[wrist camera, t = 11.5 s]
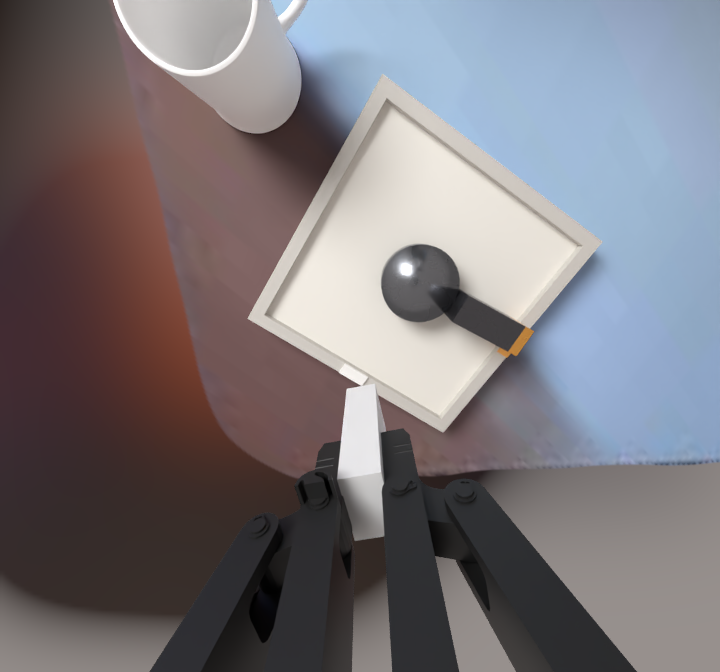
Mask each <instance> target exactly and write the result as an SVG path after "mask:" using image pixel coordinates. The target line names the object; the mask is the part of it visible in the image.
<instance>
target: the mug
mask: <svg viewBox="0 0 720 672" xmlns="http://www.w3.org/2000/svg"><path fill="white" fill-rule="evenodd" d="M113 1H114V5H115V8H116V11H117V13H118V16H119V18H120V20H121V22H122V24H123V26H124V28H125V30H126V32H127V33H128V35H129V36H130V38H131V39H132V41H133V42H134V43H135V44H136V46H137V47H138V48H139V49H140V50H141V51H142V52H143V53H144V54H145V55H146V56H147V57H148V58H149V59H150V60H151V61H153V62H154V63H155V64H156V65H158V66H159V67H160V68H162V69H163V70H164V71H166V72H167V73H168V74H169V75H171V76H172V77H173V78H175V79H176V80H177V81H179V82H180V83H181V84H182V85H184V86H185V87H186V88H188V89H189V90H190V91H192V92H193V93H194V94H196V95H197V96H198V97H199V98H201V99H202V100H203V101H205V102H206V103H207V104H209V105H210V106H211V107H212V108H214V109H215V110H216V112H217V113H218V114H219V115H220V116H221V117H222V118H223V119H224V120H225V121H226V122H227V123H229V124H230V125H231V126H233V127H235V128H237V129H239V130H241V131H244V132H248V133H256V134H258V133H266V132H269V131H272V130H274V129H276V128H278V127H280V126H281V125H282V124H284V123H285V122H286V121H287V120H288V118H289V117H290V116H291V115H292V113H293V111H294V110H295V108H296V105H297V103H298V100H299V96H300V92H301V69H300V64H299V60H298V57H297V55H296V52H295V50H294V48H293V46H292V44H291V42H290V41H289V39H288V38H287V37H286V33H287V31H288V30H289V29H290V27H291V26H292V25H293V24H294V22H295V21H296V20H297V18H298V17H299V15H300V14H301V12H302V11H303V9H304V7H305V5H306V3H307V1H308V0H293V1H292V3H291V4H290V6H289V7H288V8H287V10H286V11H285V12H284V13H283V14H281V15H280V16H279V17H277V15H276V12H275V10H274V7H273V5H272V3H271V0H113Z"/></svg>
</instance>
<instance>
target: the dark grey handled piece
mask: <svg viewBox="0 0 720 672" xmlns="http://www.w3.org/2000/svg"><path fill="white" fill-rule="evenodd" d="M459 284H460V278H459V272H458V269H457V267H456V264H455V263H454V261H453V260H452V258H451V257H450V256H449V255H448V254H447V253H446V252H444V251H443V250H441V249H439V248H437V247H434V246H431V245H428V244H411V245H407V246H405V247H402V248H401V249H399V250H397V251H396V252H395V253H394V254H392V255H391V257H390V258H389V259H388V260H387V262H386V263H385V265H384V268H383V270H382V274H381V290H382V294H383V297H384V300H385V302H386V304H387V306H388V307H389V309H390V310H391V311H392V312H393V313H394V314H396V315H397V316H398V317H400V318H402V319H404V320H407V321H411V322H426V321H430V320H433V319H435V318H437V317H439V316H441V315H442V314H445V315H446V316H447V317H448V318H449V319H450V320H451V321H452V322H453V323H455V324H457V325H459V326H461V327H462V328H464V329H466V330H468V331H470V332H472V333H474V334H476V335H477V336H479V337H481V338H483V339H485V340H487V341H489V342H491V343H492V344H494V345H496V346H498V347H500V348H502V349H504V350H506V351H507V352H509V353H511V354H513V355H515V356H517V355H518V353H519V352H520V351H521V349H522V348H523V346H524V345H525V344H526V342H527V341H528V340H529V338H530V337H531V335H532V334H533V333H534V331H533V330H531V329H530V328H528V327H526V326H525V325H523V324H522V323H520V322H519V321H517V320H515V319H514V318H512V317H510V316H508V315H507V314H505V313H503V312H501V311H499V310H498V309H496V308H494V307H492V306H490V305H488V304H487V303H485V302H483V301H481V300H479V299H478V298H476V297H474V296H472V295H470V294H468V293H467V292H465V291H463V290H461V289H459Z"/></svg>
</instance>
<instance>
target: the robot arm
mask: <svg viewBox="0 0 720 672" xmlns="http://www.w3.org/2000/svg"><path fill="white" fill-rule="evenodd" d="M315 468H316V469H315V470H313V471H310V472H307V473H306V474H304V475H302V476H301V477H300V478H299V479H298V480H297V482H296V484H295V486H294V487H295V490H296V492H297V495H298V498H299V501H300V504H301V507H300V509H299V510H298V511H297V512H295V513H293V514H291V515H289V516H287V517H284V518H282V519H278V517H277V516H276V515H275V514H272V513H262V514H259V515H257V516H255V517H253V518H252V519H251V520H249V521H248V522H247V523H246V524H245V525H244V527H243V528H242V529H241V531H240V532H239V534H238V535H237V537H236V538H235V540H234V541H233V543H232V545H231V546H230V548H229V549H228V551H227V552H226V554H225V555H224V557H223V559H222V560H221V562H220V563H219V565H218V567H217V568H216V570H215V571H214V573H213V574H212V576H211V577H210V579H209V580H208V582H207V583H206V585H205V586H204V588H203V590H202V591H201V593H200V594H199V596H198V597H197V599H196V600H195V602H194V604H193V605H192V607H191V608H190V610H189V612H188V613H187V615H186V616H185V618H184V619H183V621H182V622H181V624H180V625H179V627H178V628H177V630H176V632H175V633H174V635H173V636H172V638H171V639H170V641H169V642H168V644H167V645H166V647H165V649H164V651H163V652H162V653H161V655H160V656H159V658H158V659H157V661H156V663H155V664H154V666H153V667H152V669H151V670H150V672H352V640H353V603H354V567H355V554H354V548H353V545H352V532H353V535H354V539H355V541H357V540H363V539H369V538H376V537H382V536H384V539H385V556H386V571H387V572H386V573H387V588H388V605H389V622H390V639H391V654H392V655H391V656H392V672H459V669H458V664H457V660H456V655H455V650H454V645H453V640H452V635H451V631H450V626H449V621H448V617H447V612H446V607H445V602H444V597H443V592H442V587H441V583H440V578H439V573H438V568H437V563H436V559H435V556H439V557H444V558H450V559H455V560H456V562H457V564H458V566H459V568H460V570H461V572H462V574H463V575H464V577H465V579H466V581H467V583H468V585H469V586H470V588H471V590H472V592H473V594H474V595H475V597H476V599H477V601H478V603H479V605H480V606H481V608H482V610H483V612H484V613H485V616H486V617H487V619H488V621H489V623H490V625H491V627H492V628H493V630H494V632H495V634H496V636H497V638H498V639H499V641H500V643H501V645H502V647H503V649H504V650H505V652H506V654H507V656H508V658H509V660H510V661H511V663H512V665H513V667H514V668H515V670H516V672H637V671H636V670H635V669H634V668H633V667H632V665H631V664H630V663H629V662H628V661H627V659H626V658H625V657H624V656H623V654H622V653H621V652H620V651H619V650H618V648H617V647H616V646H615V645H614V644H613V643H612V641H611V640H610V639H609V638H608V636H607V635H606V634H605V633H604V632H603V630H602V629H601V628H600V627H599V626H598V624H597V623H596V622H595V621H594V620H593V618H592V617H591V616H590V615H589V613H588V612H587V611H586V610H585V609H584V608H583V606H582V605H581V604H580V603H579V602H578V600H577V599H576V598H575V597H574V596H573V594H572V593H571V592H570V591H569V589H568V588H567V587H566V586H565V584H564V583H563V582H562V581H561V580H560V578H559V577H558V576H557V575H556V574H555V573H554V571H553V570H552V569H551V568H550V566H549V565H548V564H547V563H546V562H545V560H544V559H543V558H542V557H541V556H540V554H539V553H538V552H537V551H536V549H535V548H534V547H533V546H532V545H531V543H530V542H529V541H528V540H527V539H526V537H525V536H524V535H523V534H522V533H521V531H520V530H519V529H518V528H517V527H516V525H515V524H514V523H513V522H512V521H511V519H510V518H509V517H508V516H507V514H506V513H505V512H504V511H503V510H502V508H501V507H500V506H499V505H498V504H497V503H496V501H495V500H494V499H493V498H492V496H491V495H490V494H489V493H488V492H487V491H486V489H485V488H484V487H483V486H482V485H481V484H479V483H478V482H476V481H473V480H471V479H459V480H454V481H453V482H451V483H449V484H448V485H447V487H446V488H445V489H444V490H443V489H435V488H431V487H429V486H426V485H425V484H424V483H422V481H421V480H420V479H419V477H418V473H417V468H416V464H415V459H414V454H413V450H412V445H411V440H410V435H409V434H408V433H407V432H406V431H405V430H404V429H398V430H392V431H387V432H386V428H385V424H384V420H383V415H382V411H381V407H380V402H379V398H378V393H377V389H376V385H375V384H370V385H365V386H360V387H355V388H349V389H347V392H346V401H345V411H344V420H343V429H342V438H341V441H336V442H331V443H325V444H324V445H323V447H322V448H321V449H320V451H319V452H318V457H317V462H316V467H315Z"/></svg>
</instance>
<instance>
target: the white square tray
mask: <svg viewBox="0 0 720 672" xmlns="http://www.w3.org/2000/svg"><path fill="white" fill-rule="evenodd" d="M601 243H602V241H601V240H600V239H598V238H597V237H596V236H594V235H593V234H592V233H590V232H589V231H588V230H587V229H585V228H584V227H583V226H581V225H580V224H579V223H577V222H576V221H575V220H573V219H572V218H571V217H569V216H568V215H567V214H566V213H564V212H563V211H562V210H560V209H559V208H558V207H556V206H555V205H554V204H552V203H551V202H550V201H549V200H547V199H546V198H545V197H543V196H542V195H541V194H539V193H538V192H537V191H535V190H534V189H533V188H531V187H530V186H529V185H528V184H526V183H525V182H524V181H522V180H521V179H520V178H518V177H517V176H516V175H514V174H513V173H512V172H511V171H509V170H508V169H507V168H505V167H504V166H503V165H501V164H500V163H499V162H497V161H496V160H495V159H493V158H492V157H491V156H490V155H488V154H487V153H486V152H484V151H483V150H482V149H480V148H479V147H478V146H476V145H475V144H474V143H473V142H471V141H470V140H469V139H467V138H466V137H465V136H463V135H462V134H461V133H459V132H458V131H457V130H456V129H454V128H453V127H452V126H450V125H449V124H448V123H446V122H445V121H444V120H442V119H441V118H440V117H438V116H437V115H436V114H435V113H433V112H432V111H431V110H429V109H428V108H427V107H425V106H424V105H423V104H421V103H420V102H419V101H418V100H416V99H415V98H414V97H412V96H411V95H410V94H408V93H407V92H406V91H404V90H403V89H402V88H400V87H399V86H398V85H397V84H395V83H394V82H393V81H391V80H390V79H389V78H387V77H386V76H385V75H383V74H382V76H381V78H380V79H379V81H378V83H377V85H376V87H375V88H374V90H373V92H372V94H371V96H370V97H369V99H368V101H367V103H366V105H365V107H364V108H363V110H362V112H361V114H360V116H359V117H358V119H357V121H356V123H355V125H354V127H353V128H352V130H351V132H350V134H349V136H348V137H347V139H346V141H345V143H344V145H343V146H342V148H341V150H340V152H339V154H338V156H337V157H336V159H335V161H334V163H333V165H332V166H331V168H330V170H329V172H328V174H327V175H326V177H325V179H324V181H323V183H322V185H321V186H320V188H319V190H318V192H317V194H316V195H315V197H314V199H313V201H312V203H311V205H310V206H309V208H308V210H307V212H306V214H305V215H304V217H303V219H302V221H301V223H300V224H299V226H298V228H297V230H296V232H295V234H294V235H293V237H292V239H291V241H290V243H289V244H288V246H287V248H286V250H285V252H284V254H283V255H282V257H281V259H280V261H279V263H278V264H277V266H276V268H275V270H274V272H273V273H272V275H271V277H270V279H269V281H268V283H267V284H266V286H265V288H264V290H263V292H262V293H261V295H260V297H259V299H258V301H257V302H256V304H255V306H254V308H253V310H252V312H251V313H250V315H249V317H248V319H249V320H251V321H252V322H254V323H256V324H258V325H259V326H261V327H263V328H264V329H266V330H268V331H270V332H271V333H273V334H275V335H276V336H278V337H280V338H282V339H283V340H285V341H287V342H288V343H290V344H292V345H294V346H295V347H297V348H299V349H300V350H302V351H304V352H306V353H307V354H309V355H311V356H313V357H314V358H316V359H318V360H319V361H321V362H323V363H325V364H326V365H328V366H330V367H331V368H333V369H335V370H337V371H338V372H339V373H340V374H342V375H344V376H345V377H347V378H349V379H350V380H352V381H354V382H356V383H357V384H359V385H361V386H365V385H370V384H375V385H376V389H377V393H378V395H379V396H381V397H383V398H385V399H386V400H388V401H390V402H391V403H393V404H395V405H397V406H398V407H400V408H402V409H403V410H405V411H407V412H409V413H410V414H412V415H414V416H415V417H417V418H419V419H421V420H422V421H424V422H426V423H427V424H429V425H431V426H433V427H434V428H436V429H438V430H439V431H441V432H444V431H445V430H446V429H447V427H448V426H449V425H450V424H451V423H452V421H453V420H454V419H455V418H456V417H457V415H458V414H459V413H460V412H461V411H462V409H463V408H464V407H465V406H466V405H467V403H468V402H469V401H470V400H471V399H472V398H473V396H474V395H475V394H476V393H477V392H478V390H479V389H480V388H481V387H482V386H483V384H484V383H485V382H486V381H487V380H488V378H489V377H490V376H491V375H492V374H493V372H494V371H495V370H496V369H497V368H498V366H499V365H500V364H501V363H502V362H503V360H504V359H505V358H507V357H508V356H509V355H510V354H511V353H509V352H507V351H506V350H504V349H502V348H500V347H498V346H496V345H494V344H492V343H491V342H489V341H487V340H485V339H483V338H481V337H479V336H477V335H476V334H474V333H472V332H470V331H468V330H466V329H464V328H462V327H461V326H459V325H457V324H455V323H453V322H452V321H451V320H450V319H449V318H448V317H447V316H446V315H445V314H442V315H441V316H439V317H437V318H435V319H433V320H430V321H426V322H411V321H407V320H404V319H402V318H400V317H398V316H397V315H396V314H394V313H393V312H392V311H391V310H390V309H389V307H388V306H387V304H386V302H385V300H384V297H383V294H382V290H381V274H382V270H383V268H384V265H385V263H386V262H387V260H388V259H389V258H390V257H391V255H392V254H394V253H395V252H396V251H397V250H399V249H401V248H402V247H405V246H407V245H411V244H428V245H431V246H434V247H437V248H439V249H441V250H443V251H444V252H446V253H447V254H448V255H449V256H450V257H451V258H452V260H453V261H454V263H455V264H456V267H457V269H458V272H459V278H460V284H459V289H461V290H463V291H465V292H467V293H468V294H470V295H472V296H474V297H476V298H478V299H479V300H481V301H483V302H485V303H487V304H488V305H490V306H492V307H494V308H496V309H498V310H499V311H501V312H503V313H505V314H507V315H508V316H510V317H512V318H514V319H515V320H517V321H519V322H520V323H522V324H523V325H525V326H526V327H528V328H531V327H532V326H533V325H534V323H535V322H536V321H537V320H538V319H539V317H540V316H541V315H542V314H543V313H544V311H545V310H546V309H547V308H548V307H549V305H550V304H551V303H552V302H553V301H554V299H555V298H556V297H557V296H558V295H559V293H560V292H561V291H562V290H563V289H564V287H565V286H566V285H567V284H568V283H569V282H570V280H571V279H572V278H573V277H574V276H575V274H576V273H577V272H578V271H579V270H580V268H581V267H582V266H583V265H584V264H585V262H586V261H587V260H588V259H589V258H590V256H591V255H592V254H593V253H594V252H595V250H596V249H597V248H598V247H599V246H600V244H601Z"/></svg>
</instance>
